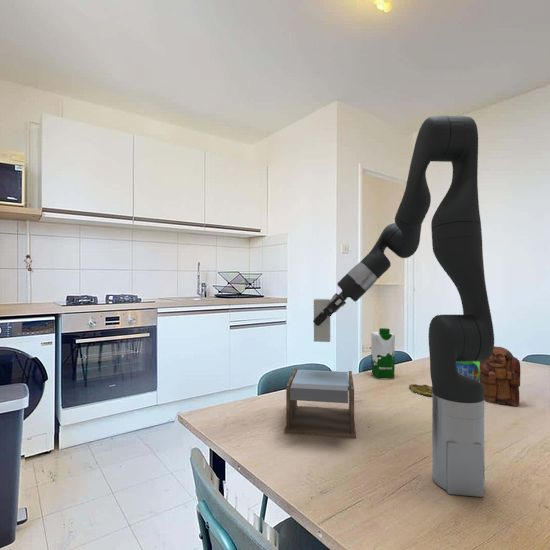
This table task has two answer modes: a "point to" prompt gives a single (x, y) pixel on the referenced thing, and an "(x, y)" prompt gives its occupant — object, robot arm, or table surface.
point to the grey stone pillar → (324, 328)
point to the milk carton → (383, 353)
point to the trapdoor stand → (320, 416)
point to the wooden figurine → (501, 377)
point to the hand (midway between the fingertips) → (316, 322)
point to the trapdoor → (320, 386)
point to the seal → (421, 389)
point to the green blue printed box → (469, 369)
